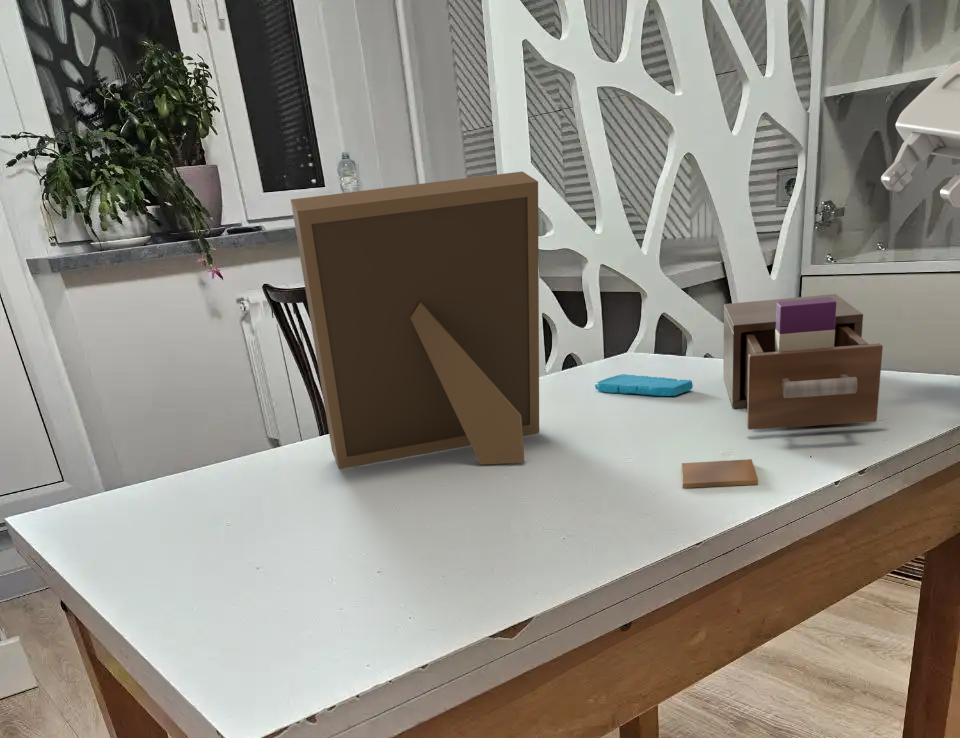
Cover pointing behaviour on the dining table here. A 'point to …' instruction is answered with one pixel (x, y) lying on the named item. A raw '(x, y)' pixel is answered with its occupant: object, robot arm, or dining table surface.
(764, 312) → the cabinet
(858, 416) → the drawer
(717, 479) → the coaster
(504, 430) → the photo frame
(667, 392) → the sponge
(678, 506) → the dining table surface
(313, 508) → the dining table surface
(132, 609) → the dining table surface
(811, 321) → the snack carton
